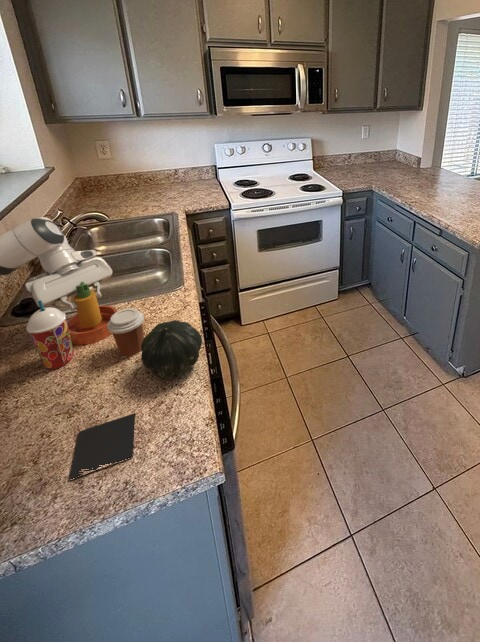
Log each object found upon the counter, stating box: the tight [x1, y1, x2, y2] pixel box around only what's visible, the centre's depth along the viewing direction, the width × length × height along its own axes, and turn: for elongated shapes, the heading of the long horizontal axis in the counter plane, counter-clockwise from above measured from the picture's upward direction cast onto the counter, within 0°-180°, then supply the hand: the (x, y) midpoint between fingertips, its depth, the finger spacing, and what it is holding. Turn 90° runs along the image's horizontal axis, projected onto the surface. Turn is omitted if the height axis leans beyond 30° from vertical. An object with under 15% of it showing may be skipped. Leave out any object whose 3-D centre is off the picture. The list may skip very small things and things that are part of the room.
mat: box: [68, 412, 136, 481], centre depth 76 cm, size 11×11×1 cm
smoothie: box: [25, 300, 75, 370], centre depth 94 cm, size 8×8×20 cm
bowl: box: [67, 304, 118, 346], centre depth 109 cm, size 13×13×4 cm
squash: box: [141, 319, 203, 380], centre depth 95 cm, size 14×15×15 cm
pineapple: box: [73, 282, 102, 328], centre depth 106 cm, size 5×5×13 cm
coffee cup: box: [107, 307, 145, 358], centre depth 100 cm, size 9×9×12 cm
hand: (87, 303), depth 106 cm, fingers closed on pineapple, 5 cm apart
